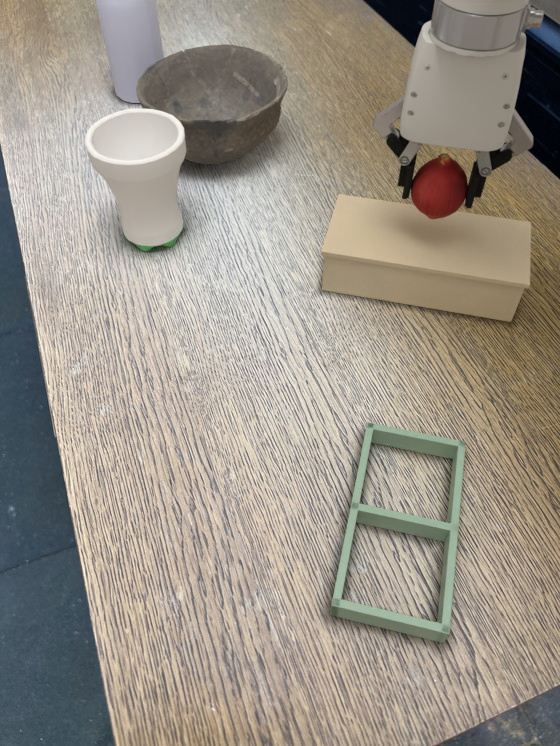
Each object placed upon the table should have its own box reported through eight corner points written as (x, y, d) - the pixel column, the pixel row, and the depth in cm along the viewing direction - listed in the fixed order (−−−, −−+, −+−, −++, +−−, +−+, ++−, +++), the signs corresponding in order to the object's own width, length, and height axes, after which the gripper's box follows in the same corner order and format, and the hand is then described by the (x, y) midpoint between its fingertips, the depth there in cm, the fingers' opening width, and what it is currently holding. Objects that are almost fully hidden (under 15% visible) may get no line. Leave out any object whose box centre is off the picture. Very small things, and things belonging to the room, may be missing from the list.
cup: (147, 276, 79) (125, 176, 68) (93, 234, 84) (63, 135, 72) (216, 232, 84) (205, 132, 73) (160, 195, 88) (142, 96, 77)
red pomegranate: (430, 194, 74) (443, 130, 68) (470, 218, 71) (488, 154, 65) (395, 216, 71) (406, 151, 65) (435, 241, 69) (450, 177, 62)
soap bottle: (124, 73, 109) (90, -95, 90) (176, 80, 107) (153, -89, 88) (102, 99, 104) (61, -73, 85) (156, 107, 102) (127, -66, 83)
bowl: (197, 95, 104) (190, 31, 97) (311, 128, 98) (314, 63, 90) (118, 162, 93) (103, 96, 85) (242, 204, 87) (238, 137, 79)
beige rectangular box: (515, 262, 80) (531, 221, 75) (513, 324, 74) (530, 284, 69) (335, 234, 83) (338, 193, 78) (318, 291, 77) (321, 251, 72)
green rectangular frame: (460, 454, 63) (466, 441, 61) (443, 643, 52) (449, 634, 50) (364, 435, 65) (367, 421, 63) (329, 615, 54) (331, 605, 52)
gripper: (581, 10, 56) (521, 186, 70) (382, -9, 58) (363, 164, 73) (584, 51, 51) (519, 230, 66) (368, 28, 54) (351, 205, 68)
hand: (437, 194), depth 69 cm, fingers closed on red pomegranate, 5 cm apart
